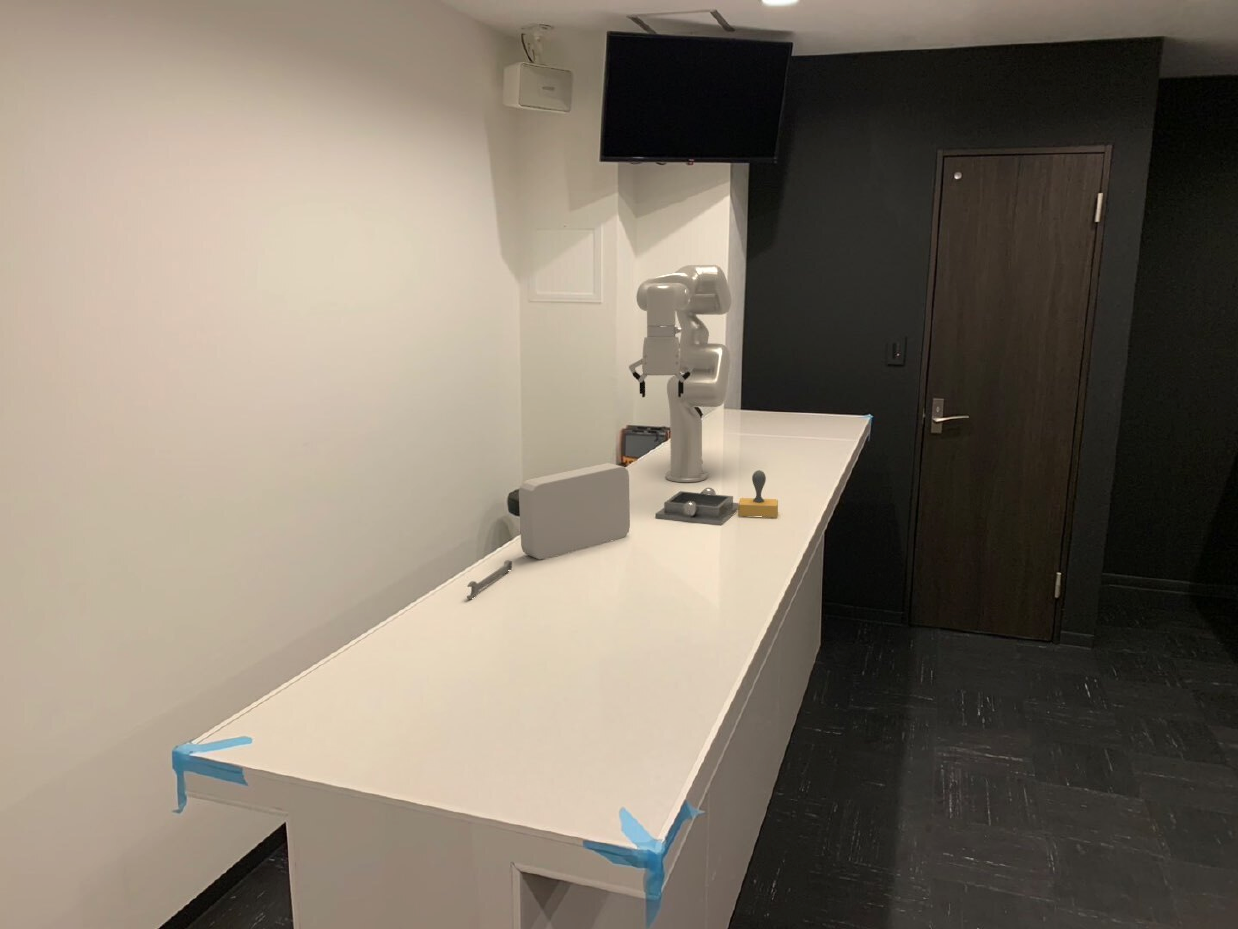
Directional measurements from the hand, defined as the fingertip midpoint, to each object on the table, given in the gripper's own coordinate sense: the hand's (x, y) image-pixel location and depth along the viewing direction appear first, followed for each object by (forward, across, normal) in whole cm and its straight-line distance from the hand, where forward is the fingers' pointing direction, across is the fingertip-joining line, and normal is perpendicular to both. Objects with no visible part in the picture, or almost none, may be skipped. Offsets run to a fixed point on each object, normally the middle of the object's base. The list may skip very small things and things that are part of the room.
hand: (661, 396), depth 251 cm
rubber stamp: (+30, -25, +10) cm, 41 cm away
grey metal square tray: (+30, -10, +9) cm, 33 cm away
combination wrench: (+31, +35, +63) cm, 78 cm away
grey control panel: (+31, +19, +36) cm, 51 cm away
